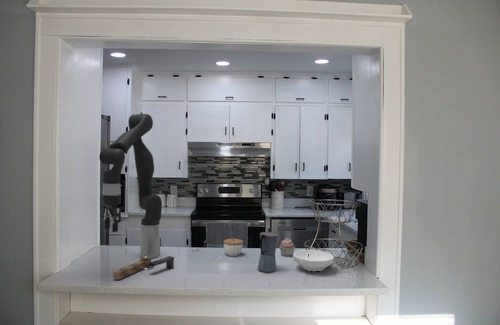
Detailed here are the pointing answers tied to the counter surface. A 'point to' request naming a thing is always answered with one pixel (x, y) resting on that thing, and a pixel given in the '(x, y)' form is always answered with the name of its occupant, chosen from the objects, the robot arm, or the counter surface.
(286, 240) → the cupcake
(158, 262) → the keeper
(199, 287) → the counter surface
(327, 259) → the bowl
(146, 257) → the pin base
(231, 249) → the lidded jar
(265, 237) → the moka pot
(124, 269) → the walnut link
